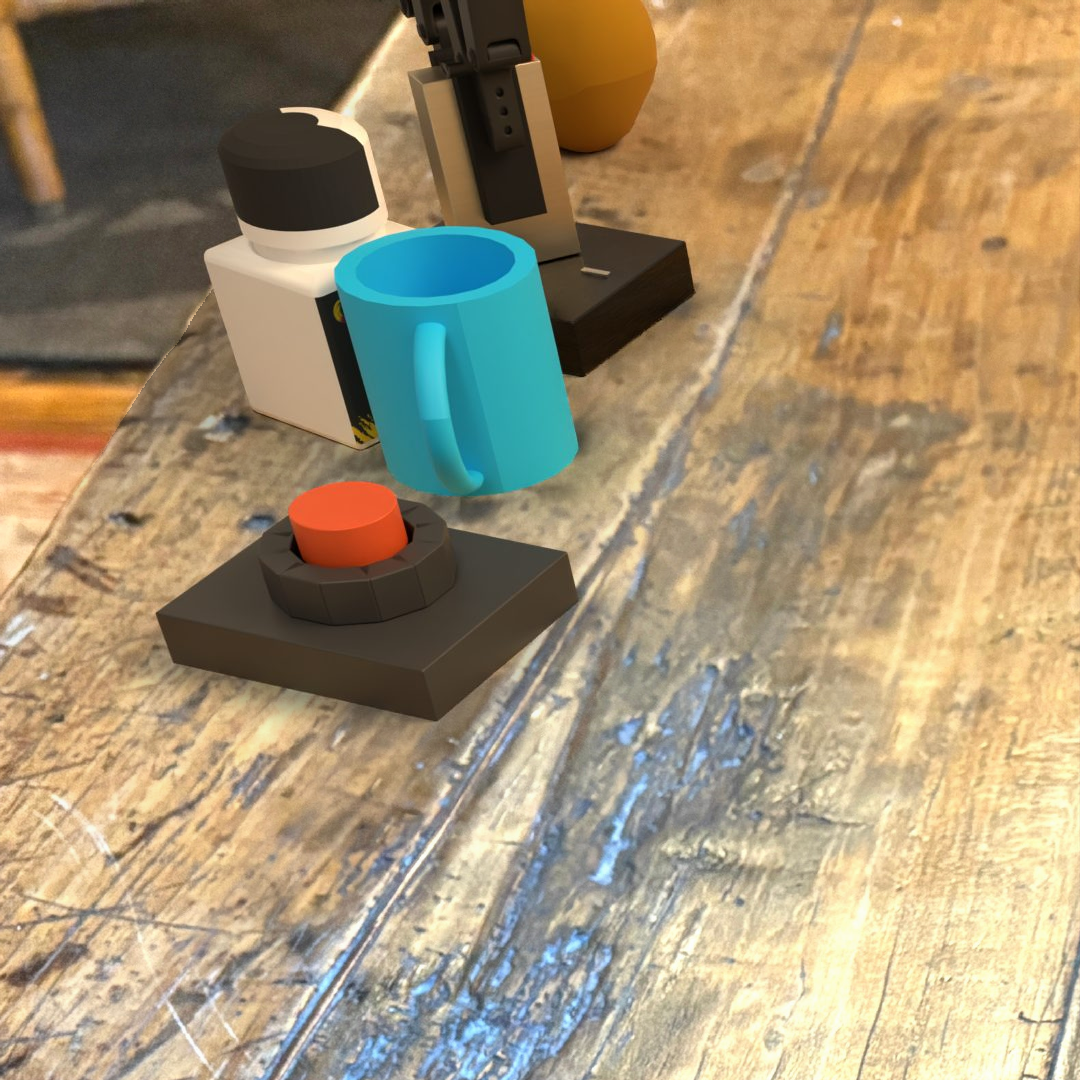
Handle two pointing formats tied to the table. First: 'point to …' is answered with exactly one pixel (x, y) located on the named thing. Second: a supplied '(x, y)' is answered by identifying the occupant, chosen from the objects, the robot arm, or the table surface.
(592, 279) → the dial panel
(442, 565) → the button box
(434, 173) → the tilted slab handle
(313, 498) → the button
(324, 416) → the medicine bottle
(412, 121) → the table surface
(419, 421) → the mug
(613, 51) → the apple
